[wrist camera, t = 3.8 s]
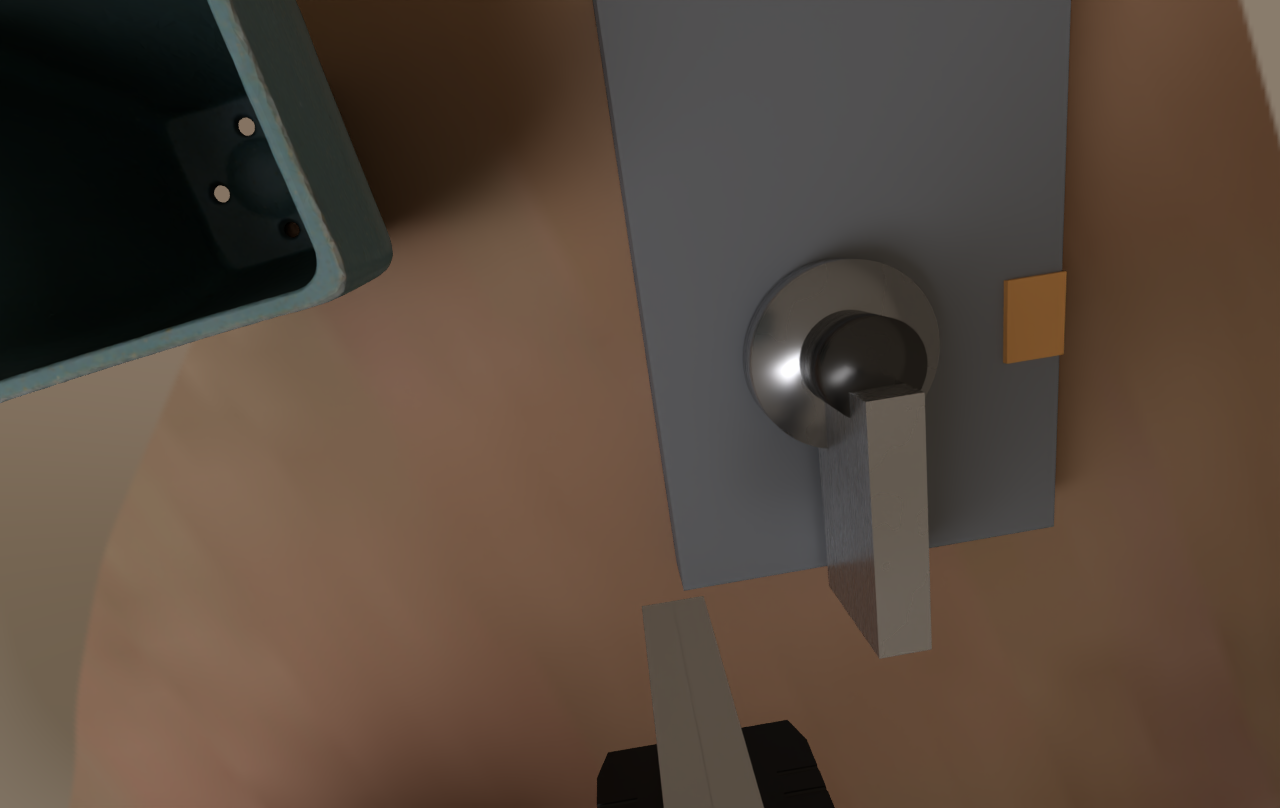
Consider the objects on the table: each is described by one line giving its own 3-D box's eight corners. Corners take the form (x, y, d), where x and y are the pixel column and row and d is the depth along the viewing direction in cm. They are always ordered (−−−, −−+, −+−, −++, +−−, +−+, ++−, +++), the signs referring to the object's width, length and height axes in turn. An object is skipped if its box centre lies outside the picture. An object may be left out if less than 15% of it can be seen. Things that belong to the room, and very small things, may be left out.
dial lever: (733, 274, 19) (771, 281, 15) (917, 244, 19) (1006, 243, 15) (767, 591, 22) (807, 671, 18) (926, 563, 22) (1002, 636, 18)
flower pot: (456, 275, 21) (353, 294, 12) (211, 350, 21) (-69, 424, 12) (351, -8, 18) (129, -240, 10) (76, 78, 18) (-394, -76, 10)
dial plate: (676, 563, 24) (684, 593, 22) (591, -6, 19) (591, -39, 17) (1017, 504, 24) (1057, 528, 22) (1025, -68, 19) (1079, -108, 17)
